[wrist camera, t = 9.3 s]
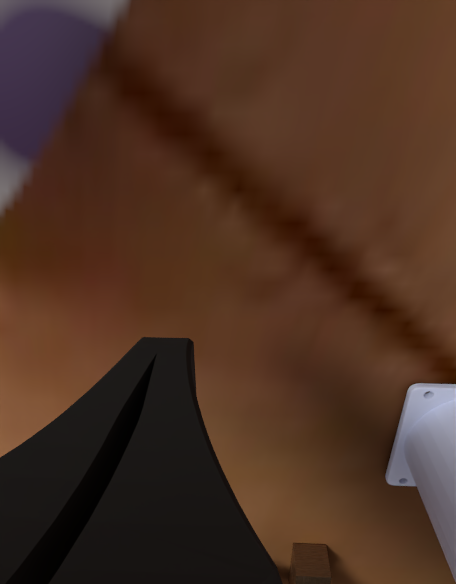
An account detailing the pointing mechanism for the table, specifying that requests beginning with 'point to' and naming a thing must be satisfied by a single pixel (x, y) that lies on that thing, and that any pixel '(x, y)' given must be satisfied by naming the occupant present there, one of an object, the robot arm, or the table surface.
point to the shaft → (309, 564)
